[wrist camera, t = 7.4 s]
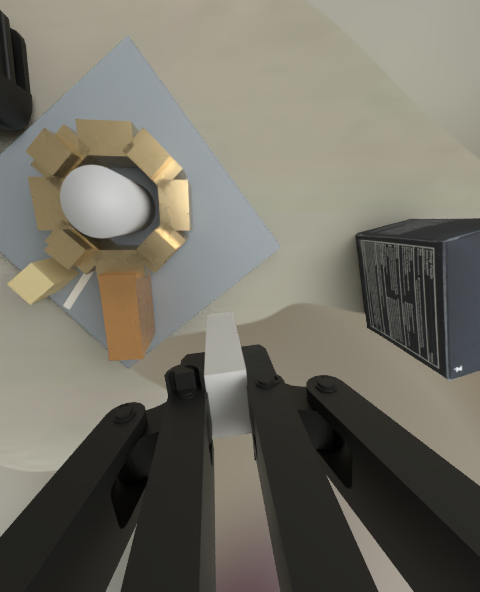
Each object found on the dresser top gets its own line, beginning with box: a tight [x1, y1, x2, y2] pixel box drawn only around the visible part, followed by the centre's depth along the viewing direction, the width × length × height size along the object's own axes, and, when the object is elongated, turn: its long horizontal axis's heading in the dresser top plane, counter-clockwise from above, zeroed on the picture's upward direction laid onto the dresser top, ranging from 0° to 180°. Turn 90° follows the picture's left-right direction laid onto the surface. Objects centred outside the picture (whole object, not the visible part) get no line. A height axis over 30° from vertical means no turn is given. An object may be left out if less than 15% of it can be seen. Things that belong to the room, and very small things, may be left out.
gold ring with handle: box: [25, 119, 193, 361], centre depth 20 cm, size 16×10×5 cm, turn 179°
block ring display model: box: [0, 36, 281, 368], centre depth 20 cm, size 19×18×8 cm
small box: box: [356, 218, 480, 380], centre depth 23 cm, size 11×6×10 cm, turn 14°
